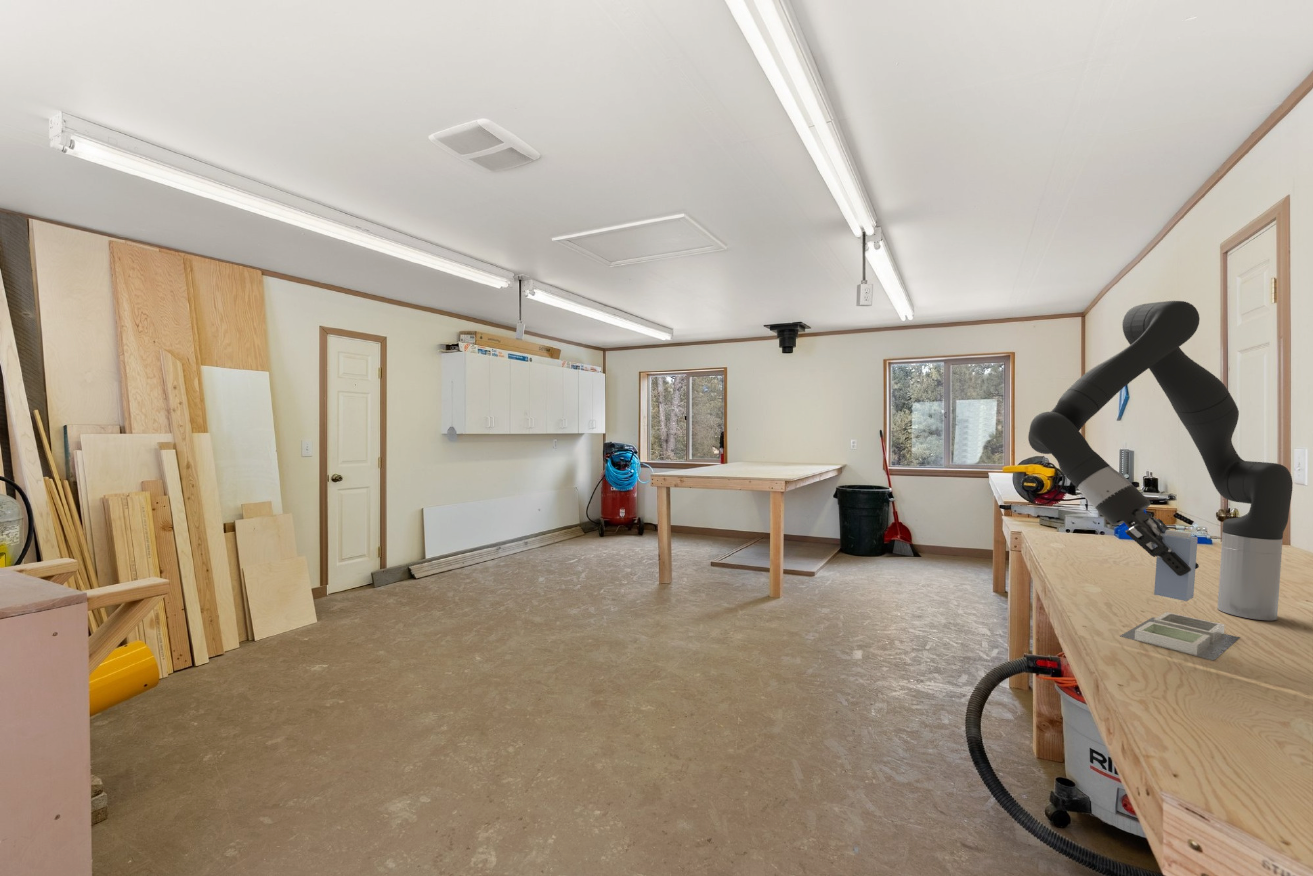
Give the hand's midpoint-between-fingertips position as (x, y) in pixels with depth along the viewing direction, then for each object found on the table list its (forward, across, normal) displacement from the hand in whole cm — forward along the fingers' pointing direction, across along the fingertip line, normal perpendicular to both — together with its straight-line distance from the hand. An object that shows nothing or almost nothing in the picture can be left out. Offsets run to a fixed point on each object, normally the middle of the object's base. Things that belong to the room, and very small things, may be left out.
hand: (1189, 571), depth 105 cm
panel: (+9, +6, +11) cm, 15 cm away
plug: (+2, 0, +5) cm, 5 cm away
